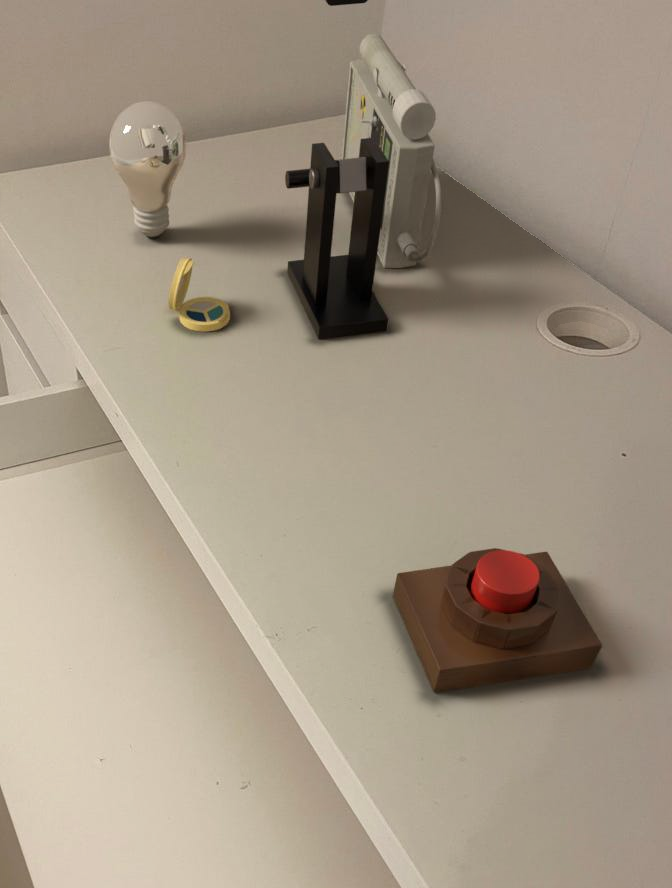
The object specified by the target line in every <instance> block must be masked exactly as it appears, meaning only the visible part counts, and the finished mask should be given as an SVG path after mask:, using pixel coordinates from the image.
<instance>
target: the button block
mask: <svg viewBox="0 0 672 888" xmlns="http://www.w3.org/2000/svg"><path fill="white" fill-rule="evenodd" d="M498 550H504V549H502V548H497V547H494V548H487V549H480V550H475V551H469V552H467V553H465V555H463V556H462V557H461V558H459V559H457V560H456V561H455V562H454V563H452V564H451V565H444V566H438V567H437V566H436V567H430V568H423V569H416V570H412V571H410V570H409V571H403V572H397V574H396V577H395V583H394V588H393V592H392V599H393V601H394V603H395V605H396V608H397V610H398V613H399V615H400V617H401V620H402V623H403V625H404V626H405V630H406V631H407V633H408V634H407V635H408V636H409V638H410V641H411V643H412V645H413V648H414V649H415V652H416V655H417V657H418V659H419V662H420V664H421V666H422V669H423V671H424V673H425V675H426V678H427V680H428V682H429V685H430V687H431V690H432V692H433V693H434V694H436V693H441V692H448V691H456V690H460V689H467V688H474V687H478V686H480V687H481V686H485V685H492V684H498V683H503V682H511V681H517V680H523V679H528V678H530V679H531V678H535V677H542V676H547V675H556V674H559V673H560V674H561V673H566V672H572V671H579V670H584V669H585V670H586V669H591V668H593V666H594V664H595V662H596V660H597V657H598V655H599V653H600V651H601V649H602V647H603V643H602V641H601V640H600V638H599V636H598V635H597V633H596V631H595V630H594V628H593V626H592V624H591V622H590V621H589V620H588V618H587V615H586V614H585V613H584V611H583V609H582V608H581V606H580V604H579V602H578V601H577V599H576V597H575V595H574V594H573V593H572V591H571V589H570V587H569V585H568V584H567V582H566V581H565V579H564V578H563V575H562V574H561V572H560V571H559V569H558V567H557V566H556V564H555V562H554V560H553V558H552V557H551V555H550V553H549V552H548V551H540V552H532V553H525V554H524V553H521V552H518V553H519V554H522V555H524V556H525V557H527V558H529V559H530V560H531V561H532V562H533V563H534V564H535V565H536V567H537V569H538V571H539V575H540V578H539V582H538V585H537V588H536V591H535V593H534V596H533V599H532V602H531V603H530V605H529V606H528V607H527V608H526V609H524V610H522V611H520V612H517V613H513V614H504V613H499V612H495V611H491V610H488V609H486V608H485V607H484V606H482V605H481V604H479V603H478V602H477V601H476V600H475V598H474V597H473V595H472V591H471V584H472V580H473V577H474V573H475V570H476V566H477V563H478V561H479V560H480V559H481V557H483V556H484V555H485V554H487V553H489V552H493V551H498Z"/></svg>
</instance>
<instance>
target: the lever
mask: <svg viewBox="0 0 672 888" xmlns="http://www.w3.org/2000/svg"><path fill="white" fill-rule="evenodd" d="M334 160H335V161H336V163H337V164H338V166H339V172H338V183H337V193H336V194H347V193H349V192H358V191H366V190H367V183H366V157H360V158H350V159H342V158H341V159H334ZM309 173H310V168H301V169H292V170H286V171H285V174H284V176H285V177H284V182H285V187H286V189H288V190H290V189H299V188H309ZM349 194H350V193H349Z"/></svg>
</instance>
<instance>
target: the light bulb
mask: <svg viewBox="0 0 672 888" xmlns="http://www.w3.org/2000/svg"><path fill="white" fill-rule="evenodd" d="M108 138H109V139H108V150H109V156H110V160H111V162H112V165H113V167H114V170H115V171H116V172H117V174H118V176H119V177H120V178H121V180H122V181H123V183H124V184H125V186H126V188H127V191H128V196H129V199H130V203H131V204H132V205H133V218H134V225H135V227H136V229H137V230H138V231H139V232H140V233H141V234H142V235H143V236H145V237H146V238H148V239H157V238H158V237H159V236H160V235H161V234H162V233H164V232H165V231H166V229H167V228H168V227H169V225H170V213H169V210H170V209H169V206H168V204H169V203H170V201H171V198H172V197H171V196H172V189H173V186H174V184H175V181H176V179H177V177H178V175H179V173H180V171H181V170H182V167H183V165H184V163H185V159H186V153H187V139H186V135H185V131H184V127H183V126H182V123H181V121H180V120H179V118H178V117H177V116H176V115H175V113H174V112H173V111H172V110H170V109H169V108H168V107H166V106H165V105H163V104H161V103H158V102H156V101H151V100H142V101H138V102H137V101H136V102H135V103H132V104H131V105H129V106H127V107H126V108H124V110H122V111H121V112H120V113H119V114H118V116H117V118H116V119H115V120H114V122H113V124H112V126H111V129H110V133H109V137H108Z"/></svg>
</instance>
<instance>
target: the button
mask: <svg viewBox="0 0 672 888" xmlns="http://www.w3.org/2000/svg"><path fill="white" fill-rule="evenodd" d="M519 553H520V552H516V551H512V550H507V549H503V550H498V551H493V552H489V553H487V554H485V555H484V556H483V557H481V559H480V560H479V561H478V563H477V566H476V570H475V573H474V577H473V580H472V584H471V591H472V595H473V597H474V598H475V600H476V601H477V602H478V603H479V604H481V605H482V606H484V607H485V608H486V609H488V610H491V611H495V612H499V613H504V614H513V613H517V612H520V611H522V610H524V609H526V608H527V607H528V606H529V605H530V603H531V602H532V599H533V596H534V593H535V591H536V588H537V585H538V582H539V578H540V575H539V571H538V569H537V567H536V565H535V564H534V563H533V562H532V561H531V560H530V559H529V558H527V557H525V556H524V555H525V554H524V555H522V554H523V553H521V554H519Z"/></svg>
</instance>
